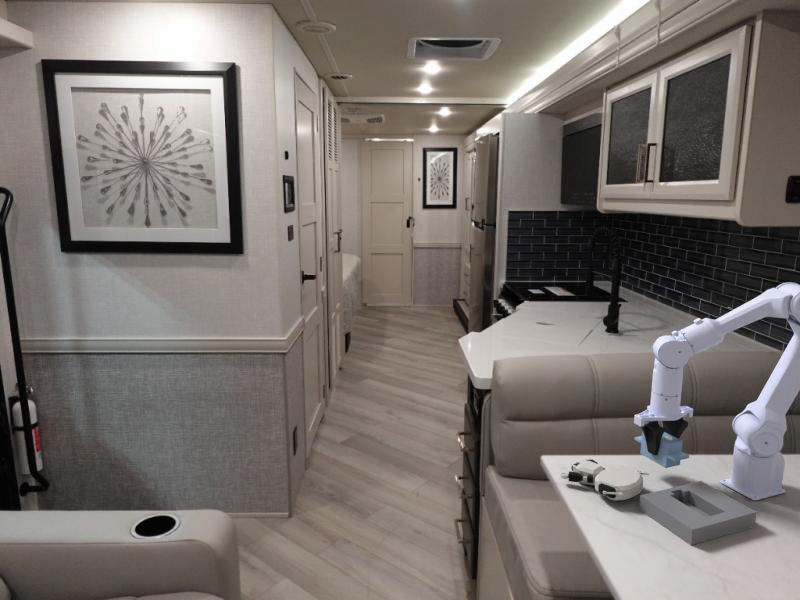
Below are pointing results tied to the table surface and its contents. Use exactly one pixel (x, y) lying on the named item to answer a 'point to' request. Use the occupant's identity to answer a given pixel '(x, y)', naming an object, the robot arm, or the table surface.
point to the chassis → (697, 512)
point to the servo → (664, 450)
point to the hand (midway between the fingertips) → (660, 451)
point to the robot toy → (607, 479)
